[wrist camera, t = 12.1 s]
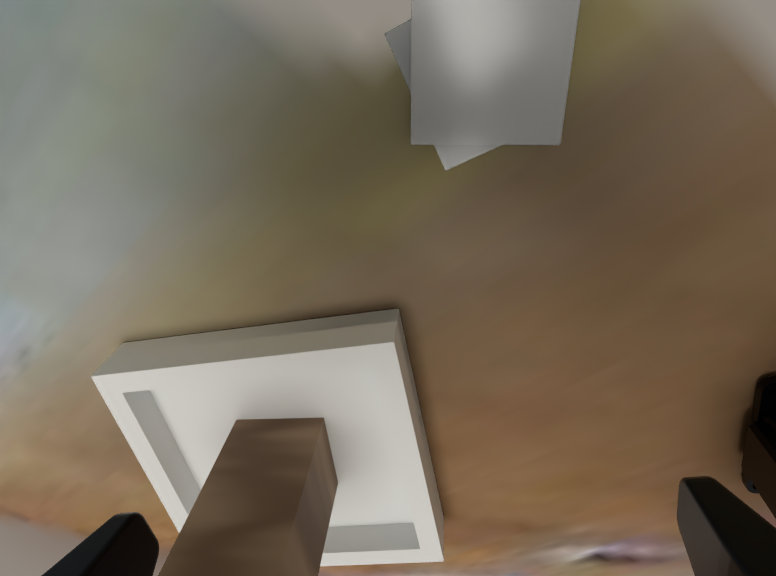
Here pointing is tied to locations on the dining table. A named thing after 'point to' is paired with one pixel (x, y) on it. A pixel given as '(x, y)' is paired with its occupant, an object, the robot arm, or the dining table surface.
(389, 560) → the tray
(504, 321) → the dining table surface
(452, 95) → the slate tile
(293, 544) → the brown rectangular block
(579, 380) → the dining table surface
